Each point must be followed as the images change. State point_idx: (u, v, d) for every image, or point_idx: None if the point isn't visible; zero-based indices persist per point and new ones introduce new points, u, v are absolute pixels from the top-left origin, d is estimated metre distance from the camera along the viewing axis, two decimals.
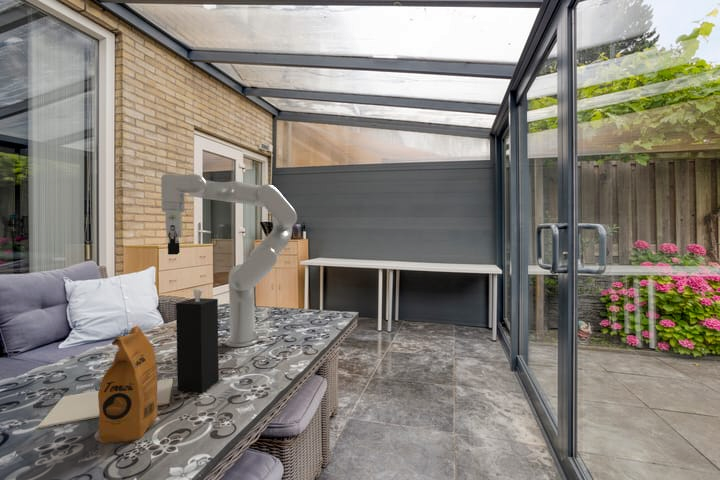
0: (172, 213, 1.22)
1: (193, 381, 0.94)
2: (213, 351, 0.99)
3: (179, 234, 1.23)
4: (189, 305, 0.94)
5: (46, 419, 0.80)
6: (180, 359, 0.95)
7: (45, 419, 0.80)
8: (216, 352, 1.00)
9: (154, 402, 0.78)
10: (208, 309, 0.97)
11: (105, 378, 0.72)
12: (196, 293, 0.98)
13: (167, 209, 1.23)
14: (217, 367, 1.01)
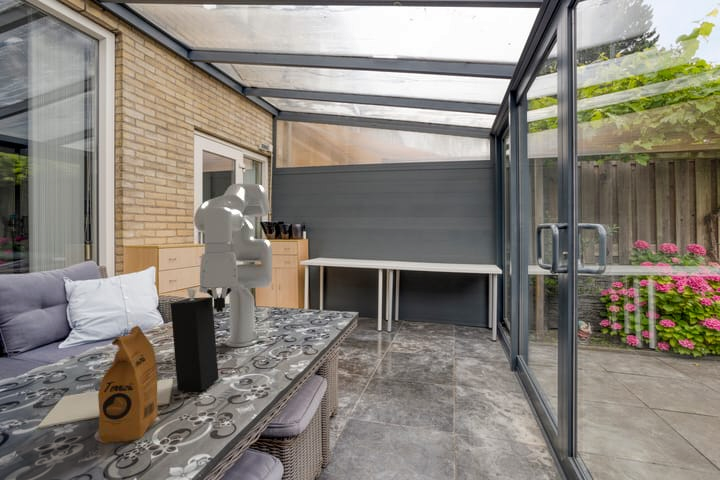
0: (235, 256, 1.02)
1: (192, 380, 0.94)
2: (211, 349, 0.99)
3: None
4: (183, 304, 0.94)
5: (46, 419, 0.80)
6: (178, 359, 0.95)
7: (45, 419, 0.80)
8: (214, 350, 1.00)
9: (154, 402, 0.78)
10: (203, 307, 0.97)
11: (105, 378, 0.72)
12: (190, 293, 0.98)
13: (231, 251, 1.00)
14: (216, 365, 1.01)
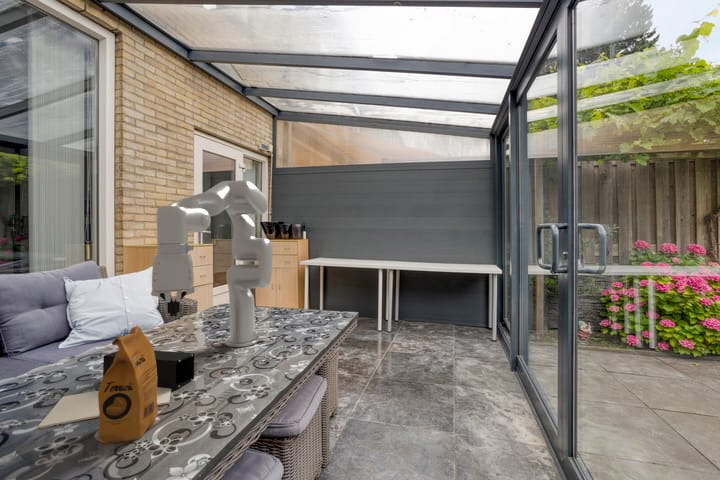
0: (191, 258, 0.97)
1: (167, 369, 0.96)
2: (162, 353, 1.03)
3: None
4: (104, 367, 1.00)
5: (46, 419, 0.80)
6: None
7: (45, 419, 0.80)
8: (167, 352, 1.04)
9: (154, 402, 0.78)
10: None
11: (105, 378, 0.72)
12: None
13: (186, 253, 0.95)
14: (181, 352, 1.04)
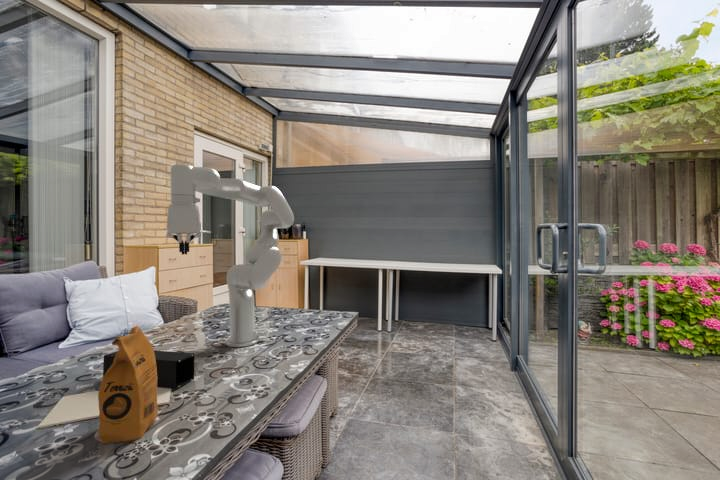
0: (198, 208, 1.19)
1: (167, 369, 0.96)
2: (162, 353, 1.03)
3: None
4: (104, 367, 1.00)
5: (46, 419, 0.80)
6: None
7: (45, 419, 0.80)
8: (167, 352, 1.04)
9: (154, 402, 0.78)
10: None
11: (105, 378, 0.72)
12: None
13: (194, 203, 1.17)
14: (181, 353, 1.04)
